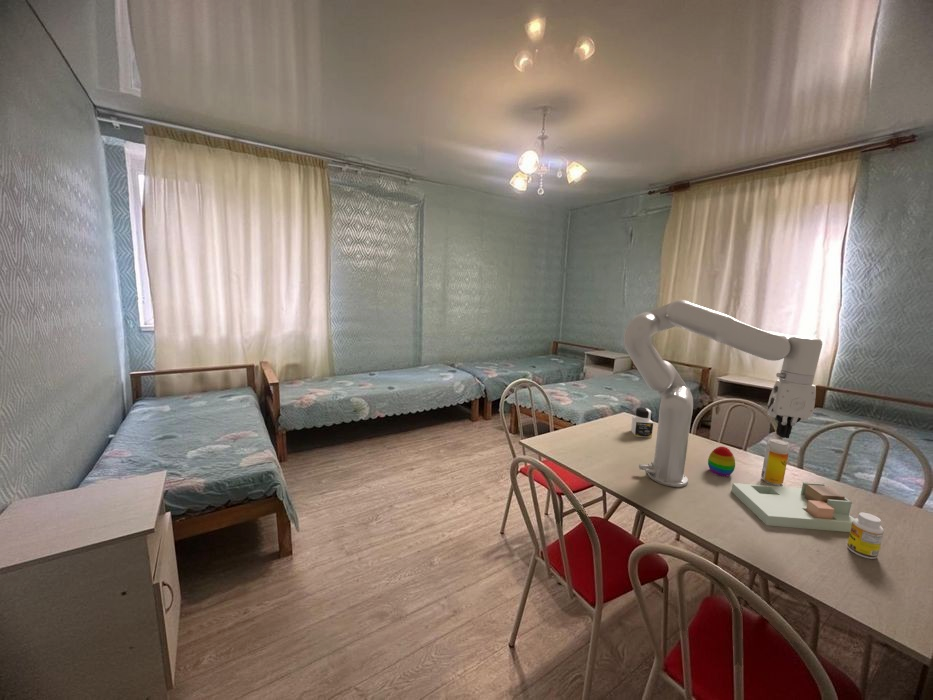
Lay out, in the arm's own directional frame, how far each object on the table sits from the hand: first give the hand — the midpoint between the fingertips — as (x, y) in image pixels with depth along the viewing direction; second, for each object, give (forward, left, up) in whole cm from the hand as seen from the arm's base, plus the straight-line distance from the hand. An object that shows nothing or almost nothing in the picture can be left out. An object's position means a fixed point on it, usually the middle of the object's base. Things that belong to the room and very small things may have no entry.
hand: (782, 436), depth 116 cm
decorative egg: (-5, +19, -23) cm, 30 cm away
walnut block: (+12, -3, -20) cm, 23 cm away
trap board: (+4, -3, -23) cm, 23 cm away
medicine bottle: (-22, +52, -23) cm, 61 cm away
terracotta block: (+7, -9, -23) cm, 25 cm away
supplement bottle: (+9, -21, -23) cm, 32 cm away
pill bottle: (+10, +15, -23) cm, 29 cm away
